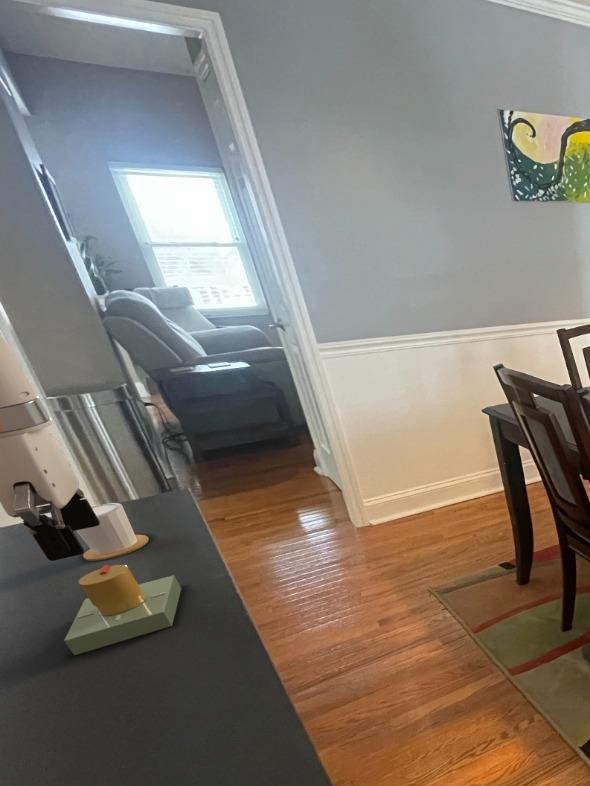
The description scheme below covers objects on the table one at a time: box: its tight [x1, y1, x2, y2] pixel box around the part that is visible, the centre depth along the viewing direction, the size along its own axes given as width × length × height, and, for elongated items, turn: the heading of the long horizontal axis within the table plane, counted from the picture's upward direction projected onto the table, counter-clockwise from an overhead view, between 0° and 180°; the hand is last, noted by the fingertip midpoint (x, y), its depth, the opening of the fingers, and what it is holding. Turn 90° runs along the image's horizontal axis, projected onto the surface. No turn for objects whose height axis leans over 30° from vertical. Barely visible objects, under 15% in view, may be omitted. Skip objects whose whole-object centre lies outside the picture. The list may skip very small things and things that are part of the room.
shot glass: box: [76, 502, 137, 555], centre depth 104 cm, size 7×7×7 cm
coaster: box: [82, 534, 149, 562], centre depth 105 cm, size 8×8×1 cm
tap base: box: [63, 574, 182, 656], centre depth 85 cm, size 10×12×3 cm
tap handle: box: [77, 564, 146, 615], centre depth 83 cm, size 5×5×6 cm
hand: (76, 541), depth 80 cm, fingers open, 9 cm apart
